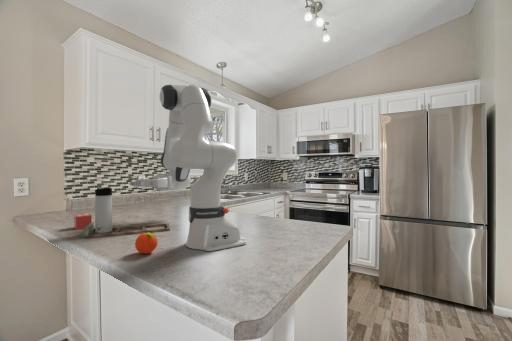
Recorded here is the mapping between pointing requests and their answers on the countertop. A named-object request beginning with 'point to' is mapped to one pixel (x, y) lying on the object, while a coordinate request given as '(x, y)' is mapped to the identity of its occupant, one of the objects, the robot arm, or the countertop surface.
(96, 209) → the travel mug
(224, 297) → the countertop surface
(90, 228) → the wooden ladder frame
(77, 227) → the red die
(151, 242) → the clementine
